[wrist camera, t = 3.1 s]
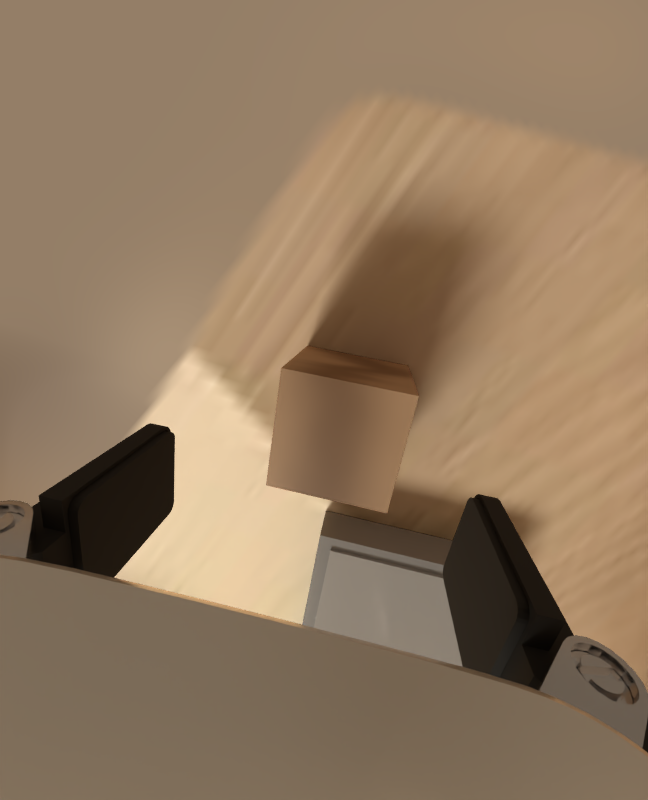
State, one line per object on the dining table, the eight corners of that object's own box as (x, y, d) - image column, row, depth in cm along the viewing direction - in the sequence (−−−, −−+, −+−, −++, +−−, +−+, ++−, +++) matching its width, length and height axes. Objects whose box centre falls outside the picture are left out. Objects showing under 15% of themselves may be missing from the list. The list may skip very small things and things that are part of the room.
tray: (503, 552, 23) (519, 585, 21) (452, 674, 27) (459, 715, 25) (326, 510, 24) (319, 537, 22) (301, 634, 28) (293, 669, 26)
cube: (408, 365, 20) (419, 396, 15) (385, 455, 22) (386, 513, 17) (307, 345, 21) (281, 368, 15) (294, 435, 23) (266, 484, 17)
